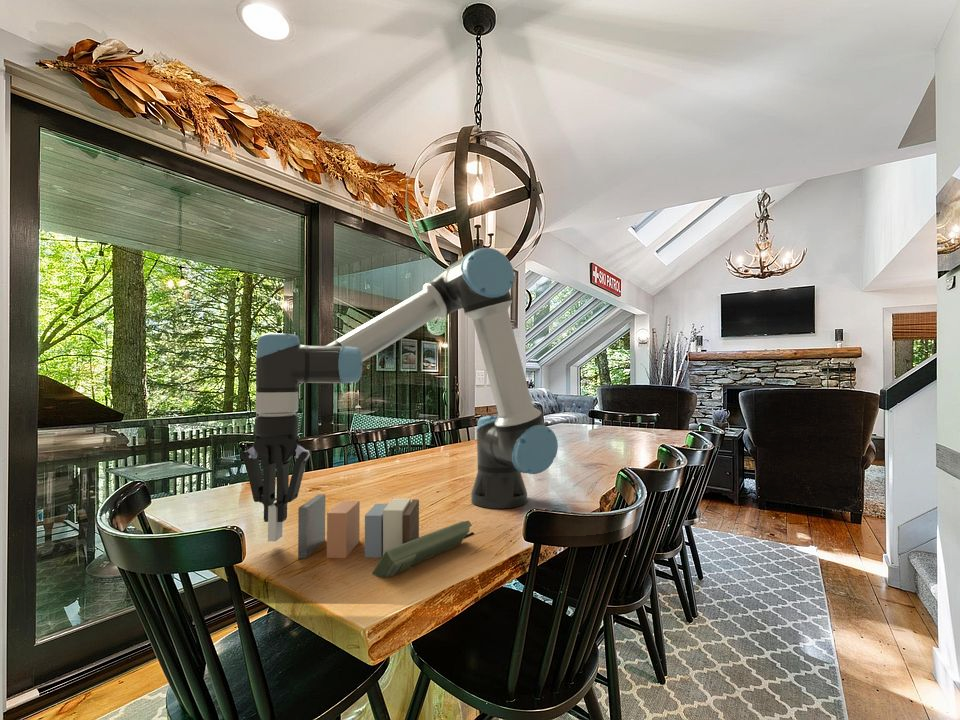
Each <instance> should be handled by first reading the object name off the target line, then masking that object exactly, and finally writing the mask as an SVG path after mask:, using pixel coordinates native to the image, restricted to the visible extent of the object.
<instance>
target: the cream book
mask: <svg viewBox="0 0 960 720" xmlns="http://www.w3.org/2000/svg"><path fill="white" fill-rule="evenodd" d="M411 502H412V499H411V497H408V498H407V497H404V498H403V497H401V498H398V497H396V498H395V497H393V498H392V499H391V500H390V501H389V503H387V504H388V505H387V506H386V508H385V509H384V510H383V555H384V553H385V551H386V550H388V549H391V548H393V547H396V546H398V545H401V544H403V514H404V513H405V511H406V510H407V508H408V506H409V505H410V503H411ZM383 555H382V556H383Z"/></svg>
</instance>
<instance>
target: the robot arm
mask: <svg viewBox="0 0 960 720" xmlns="http://www.w3.org/2000/svg"><path fill="white" fill-rule="evenodd" d="M514 281H515V271H514V268H513V265H512V263H511V261H510V260H509V259H508V257H507V256H506V255H505V254H504V253H502V252H500V250H498V249H495V248H492V247H481V248H478V249H475V250H472V251H469V252H468V253H467V254H465V256H463V257H461V258H460V259H458V260H457V261H456V260H455V262H453V263H451V264H450V265H449V266H448V267H447V268H445V269H444V270H443V271H442V272H441V273H439V274H437V276H436V277H434V278H433V279H431V280H430V281H428V282H426V283H425V284H423V286H422V290H420V291H419V292H417V293H415V294H414V295H412V296H410V297H408V298H406V299H404V300H403V301H401V302H400V303H397V304H396V305H394V306H393V307H391V308H389V309H387V310H386V311H384V312H382V313H381V314H379V315H376V316H375V317H374V318H371V319H370V320H369V321H367V322H365V323H363V324H362V325H360V326H358V327H356V328H354V329H352V330H351V331H348V333H345V334H344V335H343V336H340V337H339V338H337V339H336V340H334V341H331V342H330V343H328V344H327V345H306V344H301V342H300V337H299V336H298V334H297V335H296V334H291V333H281V332H280V333H275V332H274V333H273V332H271V333H268V332H267V333H263V334H261V335H260V336H259V337H258V338H257V344H256V353H255V354H256V356H255V388H256V389H255V404H254V405H255V408H254V411H255V413H256V414H258V415H257V416H256V417H255V419H254V420H255V421H254V435H255V440H254V441H253V442H252V443H253V444H252V446H251V447H250V448H248V449H247V450H244V451H241V452H240V457H241V459H242V460H243V462H244V463H245V466H246V470H247V476H248V481H249V485H250V489H251V490H250V491H251V495H252V499H253V501H254V502H255V503H260V504H262V505H263V521H264V523H267V542H277V541H278V540H279V539H281V538H282V537H283V527H284V526H283V522H285V521H286V520H287V518H288V504H289V503H291V502H293V501H294V500H296V499H297V498H298V496H299V493H300V488H301V484H302V480H303V476H304V474H305V468H306V465H307V462H308V460H309V459H310V457H311V455H312V453H313V452H312V450H310V449H305V448H304V447H303V446H301V443H300V440H299V438H298V433H299V416H298V415H297V414H296V413H297V412H298V411H299V390H300V389H299V385H300V383H301V384H309V383H310V384H343V385H344V384H352V383H358V382H359V381H360V380H361V378H362V373H363V362H365V361H366V360H368V359H370V358H371V357H373V356H375V355H376V354H378V353H379V352H382V351H383V350H384V349H387V348H388V347H390V346H391V345H393V344H394V343H396V342H397V341H399V340H401V339H403V338H404V337H406V336H408V335H410V334H411V333H413V332H415V331H416V330H417V329H419V328H421V327H423V326H424V325H426V324H428V323H429V322H431V321H432V320H434V319H435V318H437V317H441V318H445V317H446V316H448V315H450V314H451V313H454V312H456V311H458V310H461V309H463V313H464V315H465V316H467V317H468V318H471V320H472V322H473V326H474V329H475V332H476V333H475V334H476V336H477V340H478V344H479V347H480V351H481V354H482V355H481V356H482V358H483V362H484V366H485V370H486V374H487V378H488V381H489V384H490V388H491V392H492V395H493V399H494V403H495V406H496V410H497V414H496V415H486V416H485V415H484V416H480V417H479V419H477V426H476V436H477V437H476V441H477V443H476V444H477V445H476V447H477V449H476V451H477V473H476V477H475V480H474V483H473V486H472V489H471V495H470V497H471V499H470V500H471V503H472V504H474V505H476V506H478V507H482V508H488V509H501V510H502V509H512V508H517V507H521V506H524V505H526V504H527V503H528V491H527V488H526V485H525V481H524V479H523V476H522V474H529V475H537V474H541V473H543V472H545V471H547V470H548V469H549V467H550V468H551V466H552V465H553V462H554V460H555V458H557V454H558V451H559V450H558V448H559V443H558V438H557V436H556V434H555V432H554V431H553V430H552V429H551V428H550V427H548V426H547V425H545V423H544V419H543V416H542V412H541V409H538V408H536V407H534V405H533V401H532V398H531V394H530V390H529V386H528V383H527V378H526V375H525V374H526V373H525V370H524V367H523V363H522V359H521V356H520V352H519V349H518V348H519V347H518V344H517V340H516V336H515V333H514V329H513V325H512V320H511V318H510V313H509V308H510V307H511V305H512V303H513V299H512V295H511V292H510V290H511V289H512V286H513V283H514ZM294 455H295V458H296V460H295V462H294V465H293V469H292V473H291V476H290V475H289V473H290V472H289V471H290V465H291V459H292V458H293V456H294ZM258 456H259V458H260V459H261V465H260V462H259V458H258ZM261 468H262V470H261ZM262 471H263V472H262ZM289 478H290V479H289ZM289 480H290V481H289Z"/></svg>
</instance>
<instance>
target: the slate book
mask: <svg viewBox="0 0 960 720" xmlns="http://www.w3.org/2000/svg"><path fill="white" fill-rule="evenodd" d="M388 504H389V503H375V504H374V505H373V506H372V507H370V509H369V510H368V512H366V513H365V515H364V558H382V556H383V510H384V509H385V508H386V506H387V505H388Z"/></svg>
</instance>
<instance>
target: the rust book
mask: <svg viewBox="0 0 960 720" xmlns="http://www.w3.org/2000/svg"><path fill="white" fill-rule="evenodd" d="M360 504H361V503H360V500H341V501H340V502H339V503H338V504H336V505H335V506H334V507H333V508H331V509H330V510H329V511H328V512H327V513H326V559H327V558H328V559H329V558H331V559H332V558H337V559H340V558H341V559H343V558H344V559H346V558H347V557H348V556H349V555H350V554H351V553H352V551H353V550H354V549H355V548H356V546H357V545H358V544H359V543H360V535H361V534H360V522H361V521H360V518H361V517H360V514H361V513H360V507H361V506H360Z"/></svg>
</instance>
